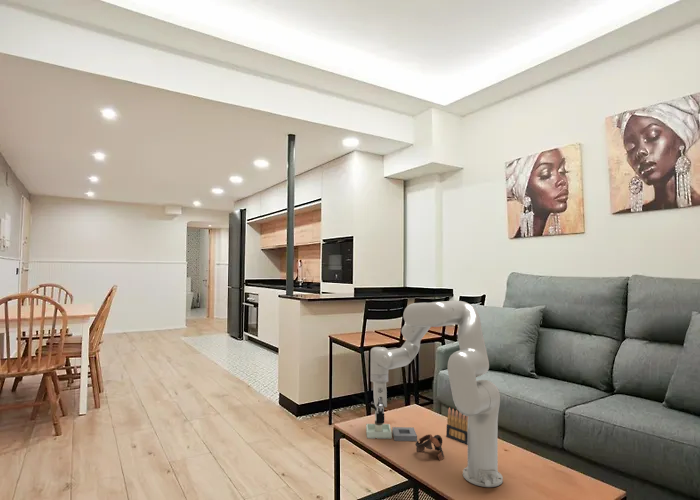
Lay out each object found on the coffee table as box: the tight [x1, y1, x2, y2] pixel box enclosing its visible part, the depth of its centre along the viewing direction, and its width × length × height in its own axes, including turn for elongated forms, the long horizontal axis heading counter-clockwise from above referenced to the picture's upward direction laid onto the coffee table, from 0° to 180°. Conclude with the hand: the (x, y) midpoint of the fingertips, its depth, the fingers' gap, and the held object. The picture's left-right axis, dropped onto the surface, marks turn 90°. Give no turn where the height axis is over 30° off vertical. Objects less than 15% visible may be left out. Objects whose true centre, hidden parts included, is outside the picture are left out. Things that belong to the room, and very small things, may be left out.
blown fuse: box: [374, 409, 383, 432], centre depth 170 cm, size 3×3×9 cm
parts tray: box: [365, 423, 393, 440], centre depth 170 cm, size 9×10×2 cm
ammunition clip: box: [445, 407, 468, 446], centre depth 165 cm, size 11×2×12 cm, turn 40°
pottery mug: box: [414, 434, 445, 461], centre depth 152 cm, size 12×10×8 cm
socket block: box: [391, 426, 418, 442], centre depth 168 cm, size 9×9×2 cm
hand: (379, 419), depth 170 cm, fingers open, 9 cm apart
